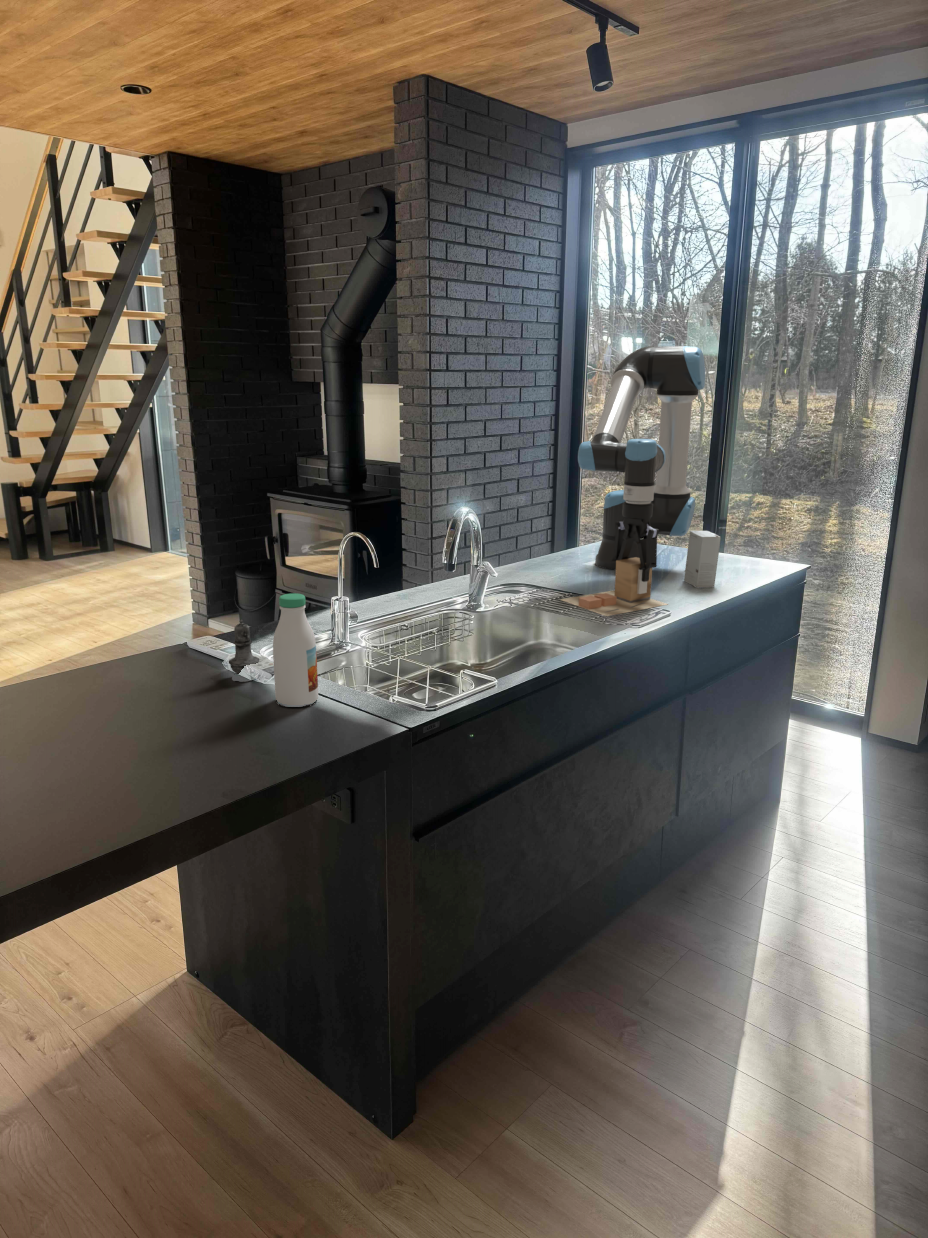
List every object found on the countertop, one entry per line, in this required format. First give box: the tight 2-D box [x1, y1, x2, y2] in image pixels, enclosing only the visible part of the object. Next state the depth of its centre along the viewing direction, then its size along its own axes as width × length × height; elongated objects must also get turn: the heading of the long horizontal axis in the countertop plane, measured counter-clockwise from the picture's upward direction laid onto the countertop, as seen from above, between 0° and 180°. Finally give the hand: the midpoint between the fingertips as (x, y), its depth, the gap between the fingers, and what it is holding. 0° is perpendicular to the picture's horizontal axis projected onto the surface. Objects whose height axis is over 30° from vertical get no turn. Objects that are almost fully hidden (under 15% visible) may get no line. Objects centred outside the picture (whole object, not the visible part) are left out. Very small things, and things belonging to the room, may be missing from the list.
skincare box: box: [683, 530, 722, 589], centre depth 244 cm, size 8×6×15 cm
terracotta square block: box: [594, 593, 617, 606], centre depth 221 cm, size 4×4×2 cm
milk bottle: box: [272, 592, 319, 705], centre depth 156 cm, size 8×8×20 cm
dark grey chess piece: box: [228, 619, 260, 674], centre depth 169 cm, size 6×6×12 cm
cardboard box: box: [614, 557, 653, 603], centre depth 224 cm, size 7×6×10 cm
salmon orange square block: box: [578, 596, 602, 610], centre depth 218 cm, size 4×4×2 cm
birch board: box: [559, 589, 670, 617], centre depth 223 cm, size 21×18×1 cm
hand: (632, 590), depth 225 cm, fingers closed on cardboard box, 6 cm apart
